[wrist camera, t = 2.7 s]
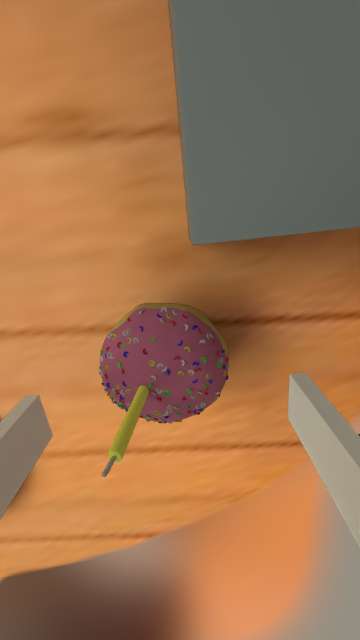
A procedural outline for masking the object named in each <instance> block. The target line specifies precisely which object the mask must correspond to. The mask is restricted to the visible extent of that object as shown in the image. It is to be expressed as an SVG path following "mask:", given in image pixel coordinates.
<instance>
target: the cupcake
mask: <svg viewBox="0 0 360 640" xmlns="http://www.w3.org/2000/svg"><path fill="white" fill-rule="evenodd" d="M228 368H229V353H228V348H227V345H226V343H225V341H224V339H223V337H222V336H221V334H220V333H219V332H218V330H217V329H216V328H215V327H214V325H213V324H212V323H211V322H210V320H209V319H208V317H207V316H206V315H205V314H204V313H203V312H201V311H199V310H198V309H196V308H193V307H191V306H187V305H182V304H173V303H144V304H141V305H139V306H137V307H135V308H134V309H133V310H132V311H131V312H129V313H128V314H127V315H125V316H124V317H123V318H122V319H121V320H120V321H119V322H118V323H117V324H116V325H115V326H114V327H113V329H112V330H111V331H110V333H109V334H108V335H107V337H106V339H105V341H104V343H103V346H102V349H101V355H100V367H99V369H100V372H99V373H100V375H101V377H102V380H103V383H102V385H104V386H105V389H104V390H105V393H106V391H108V395H109V394H110V395H109V397H110V396H111V397H110V399H112V403H116V404H117V403H118V406H119V407H120V408H121V409H125V411H126V412H127V414H126V416H125V418H124V420H123V422H122V424H121V427H120V429H119V431H118V433H117V435H116V437H115V439H114V441H113V444H112V446H111V448H110V450H109V452H108V457H109V459H110V460H109V462H108V464H107V466H106V468H105V470H104V472H103V473H102V476H103V477H105V476H106V475H107V474H108V473H109V471H110V469H111V467H112V465H113V463H114V462H119V461H121V460H122V458H123V455H124V453H125V451H126V448H127V446H128V443H129V441H130V438H131V436H132V433H133V431H134V428H135V426H136V423H137V421H138V418H139V417H141V418H144V419H146V421H151V420H152V421H155V422H156V421H158V423H167V422H168V423H173V421H175V422H181V421H182V419H185V418H188V417H191V416H193V415H196V414H197V415H199V414H200V412H203V411H204V409H205V408H207V407H208V406H209V405H211V404H212V403H213V402H214V401H215V400H217V398H218V396H219V397H220V392H221V390H222V388H223V386H224V384H225V381H226V380H227V379H228V375H227V373H228ZM108 395H107V396H108ZM113 399H114V400H115V402H113V401H114V400H113ZM147 419H148V420H147ZM179 420H180V421H179ZM159 421H160V422H159Z"/></svg>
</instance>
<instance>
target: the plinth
mask: <svg viewBox="0 0 360 640" xmlns="http://www.w3.org/2000/svg"><path fill="white" fill-rule="evenodd" d="M168 2H169V13H170V25H171V36H172V48H173V59H174V70H175V82H176V93H177V104H178V116H179V127H180V138H181V150H182V161H183V172H184V184H185V195H186V207H187V218H188V229H189V240H190V241H191V243H192V244H193V245H201V244H210V243H219V242H229V241H238V240H247V239H256V238H265V237H274V236H284V235H293V234H302V233H311V232H320V231H329V230H338V229H348V228H357V227H360V0H168Z"/></svg>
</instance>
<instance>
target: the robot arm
mask: <svg viewBox="0 0 360 640" xmlns="http://www.w3.org/2000/svg"><path fill="white" fill-rule="evenodd" d="M288 419H289V421H290V423H291V424H292V426H293V428H294V430H295V432H296V433H297V435H298V437H299V439H300V441H301V442H302V444H303V446H304V448H305V450H306V451H307V453H308V455H309V457H310V459H311V460H312V462H313V464H314V466H315V468H316V469H317V471H318V473H319V475H320V477H321V478H322V480H323V482H324V484H325V486H326V488H327V489H328V491H329V493H330V495H331V496H332V498H333V500H334V502H335V504H336V505H337V507H338V509H339V510H340V513H341V515H342V516H343V518H344V520H345V522H346V524H347V525H348V527H349V529H350V531H351V532H352V534H353V536H354V538H355V540H356V542H357V543H358V545H359V547H360V434H357V433H356V432H355V430H354V429H353V428H352V427H351V426H350V424H349V423H348V422H347V421H346V420H345V419H344V417H343V416H342V415H341V414H340V413H339V412H338V410H337V409H336V408H335V407H334V406H333V405H332V403H331V402H330V401H329V400H328V399H327V397H326V396H325V395H324V394H323V393H322V392H321V390H320V389H319V388H318V387H317V386H316V385H315V383H314V382H313V381H312V380H311V379H310V378H309V376H308V375H307V374H306V373H295V374H290V383H289V404H288ZM52 436H53V434H52V431H51V428H50V426H49V423H48V420H47V417H46V414H45V411H44V408H43V406H42V403H41V400H40V397H39V395H32V396H24V397H23V399H22V400H21V401H20V402H19V403H18V404H17V405H16V406H15V407H14V408H13V409H12V410H11V411H10V412H9V413H8V414H7V415H6V416H5V417H4V419H3V420H2V421H1V422H0V519H1V517H2V516H3V514H4V513H5V511H6V509H7V508H8V506H9V505H10V503H11V501H12V500H13V498H14V497H15V495H16V493H17V492H18V490H19V489H20V487H21V486H22V484H23V482H24V481H25V479H26V478H27V476H28V474H29V473H30V471H31V470H32V468H33V467H34V465H35V463H36V462H37V460H38V459H39V457H40V455H41V454H42V452H43V451H44V449H45V447H46V446H47V444H48V443H49V441H50V440H51V438H52Z"/></svg>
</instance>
